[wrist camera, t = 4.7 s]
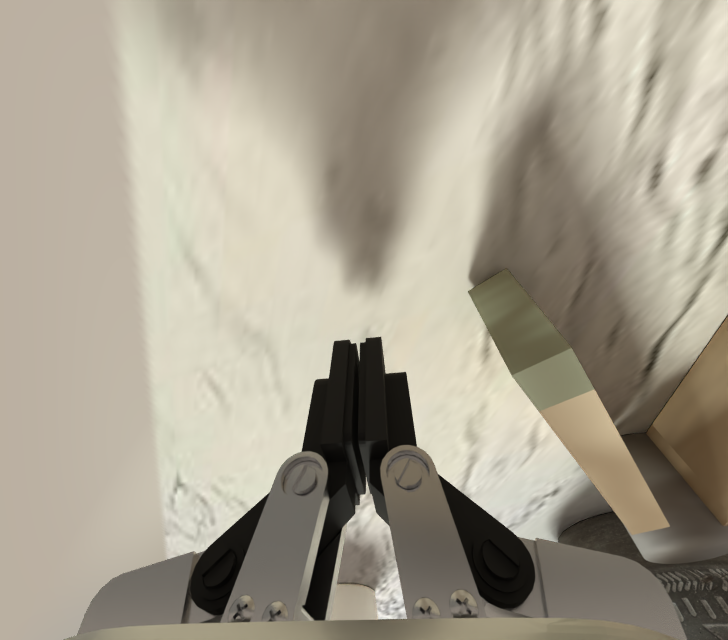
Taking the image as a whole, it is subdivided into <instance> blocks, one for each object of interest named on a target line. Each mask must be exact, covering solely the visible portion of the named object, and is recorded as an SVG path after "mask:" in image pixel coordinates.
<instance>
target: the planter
mask: <svg viewBox="0 0 728 640" xmlns="http://www.w3.org/2000/svg"><path fill="white" fill-rule="evenodd" d="M558 543H562V544H566V545H571V546H575V547H580V548H585V549H589V550H594V551H598V552H603V553H608V554H612V555H617V556H622V557H625V558H628V559H630V560H633V561H635V562H638V563H639V564H640V565H642V566H643V567H645V568H646V569H647V570H649V571H650V572H651V573H652V574H653V575H654V576H655V577H656V578H657V579H658V580H659V581H660V583H661V584H662V585H663V586H664V588H665V590H666V592H667V593H668V595H669V597H670V599H671V600H672V603H673V605H674V608H675V610H676V613H677V615H678V618H679V620H680V623H681V625H682V628H683V630H684V633H685V635H686V638H687V640H728V554H725V555H722V556H719V557H716V558H712V559H707V560H702V561H697V562H690V563H680V564H659V563H653V562H649V561H647V560H645V559H644V558H643V556H642V554H641V553H640V551H639V549H638V548H637V546H636V544H635V543H634V541H633V539H632V538H631V536H630V534H629V533H628V531H627V529H626V528H625V526H624V524H623V523H622V521H621V520H620V518H619V517H618V516H617V515H616V513H615V512H611V513H607V514H602V515H599V516H595V517H592V518H589V519H586V520H584V521H581V522H579V523H577V524H575V525H573V526H571V527H569V528H568V529H567V530H565V531H564V532H563V533H562V534H561V535H560V537H559V540H558Z"/></svg>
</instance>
